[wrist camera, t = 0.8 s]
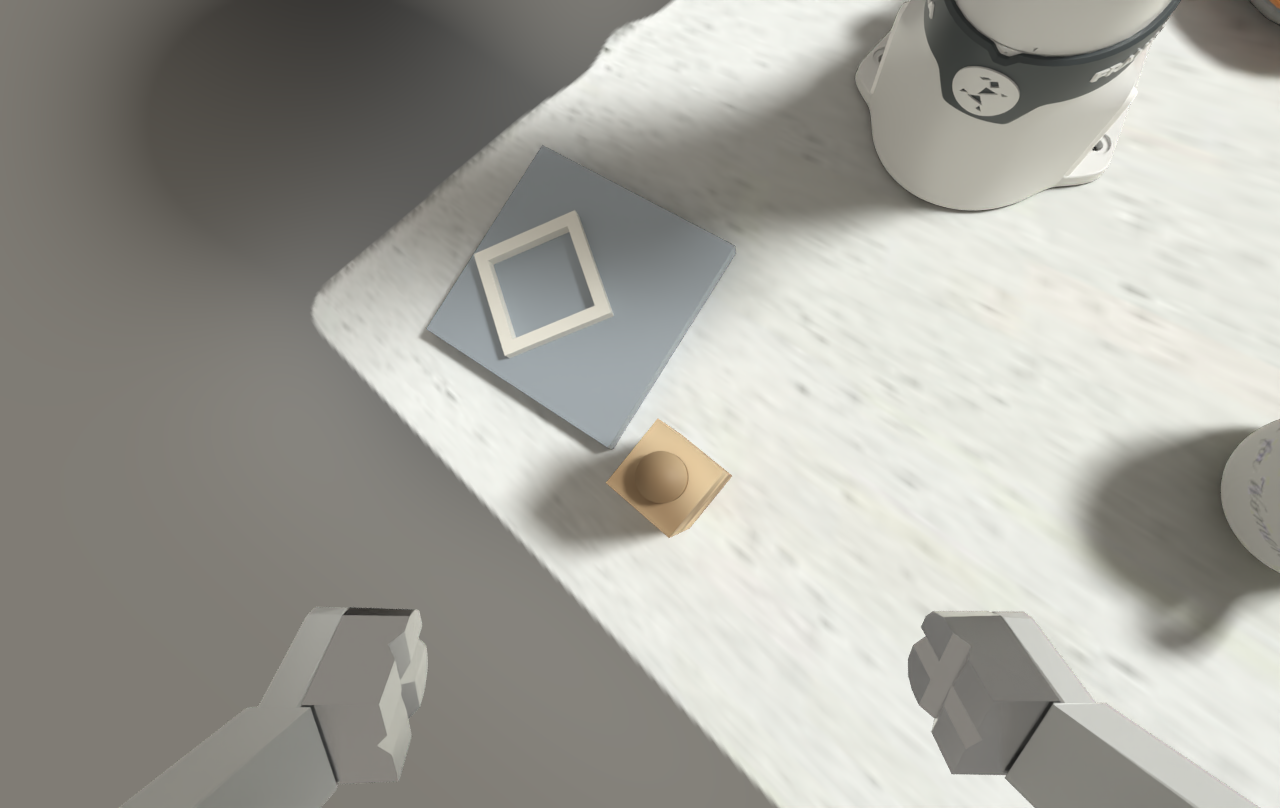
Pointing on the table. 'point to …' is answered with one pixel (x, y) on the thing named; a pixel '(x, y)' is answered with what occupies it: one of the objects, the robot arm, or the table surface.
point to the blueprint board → (586, 295)
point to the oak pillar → (668, 479)
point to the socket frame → (524, 243)
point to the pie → (1268, 9)
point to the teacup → (1255, 493)
